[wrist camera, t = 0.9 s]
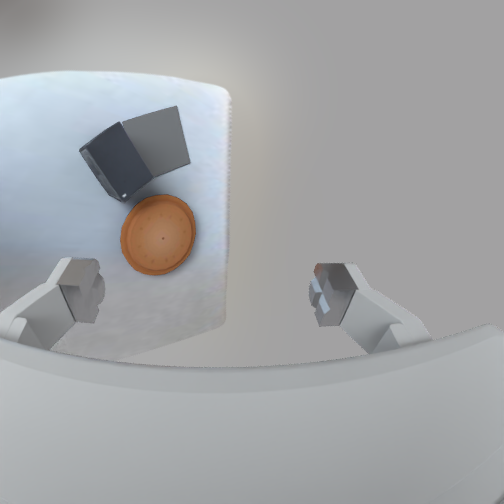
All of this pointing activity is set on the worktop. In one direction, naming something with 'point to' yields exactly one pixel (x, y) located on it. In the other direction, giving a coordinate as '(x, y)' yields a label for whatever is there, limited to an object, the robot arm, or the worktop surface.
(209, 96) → the worktop surface
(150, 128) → the rubber mat
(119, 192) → the small box
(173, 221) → the pie
